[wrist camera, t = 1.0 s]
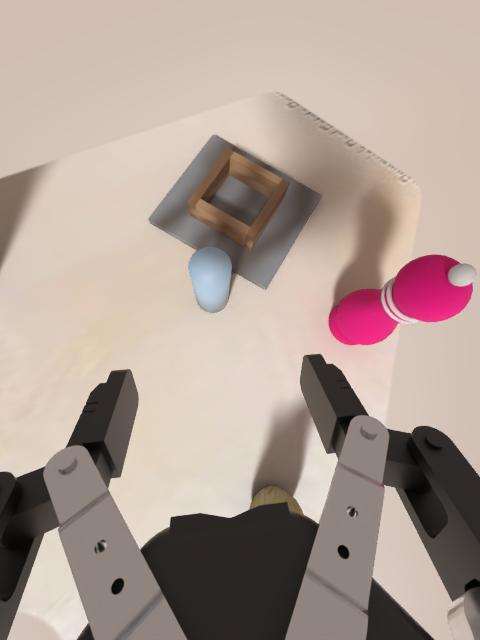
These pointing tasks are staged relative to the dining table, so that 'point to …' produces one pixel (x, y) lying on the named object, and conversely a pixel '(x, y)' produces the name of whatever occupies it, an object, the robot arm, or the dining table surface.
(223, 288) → the post
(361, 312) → the pepper mill
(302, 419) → the dining table surface
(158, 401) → the dining table surface
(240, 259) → the wooden frame tray
